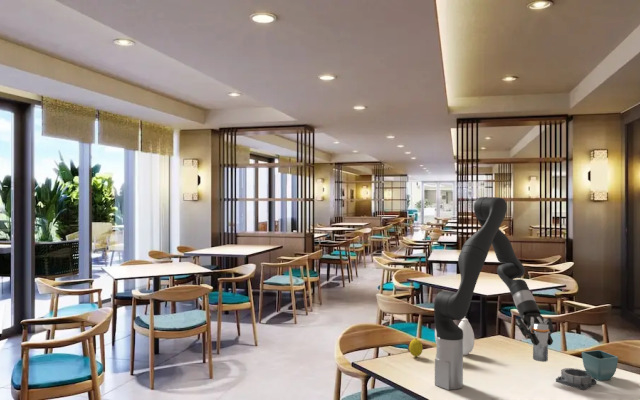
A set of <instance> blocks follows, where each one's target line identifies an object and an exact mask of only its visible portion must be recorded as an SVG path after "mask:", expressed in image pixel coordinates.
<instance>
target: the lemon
mask: <svg viewBox="0 0 640 400" xmlns="http://www.w3.org/2000/svg"><path fill="white" fill-rule="evenodd" d="M423 348H424V347H423V344H422V342H421V340H420V339H418V338H414V339H412V340H411V341H410V343H409V347H408V349H409V353H410V354H411V355H412V356H413V357H414V358H418V357H419V356H420V355H422V353H423Z"/></svg>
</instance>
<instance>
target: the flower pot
mask: <svg viewBox="0 0 640 400" xmlns="http://www.w3.org/2000/svg"><path fill="white" fill-rule="evenodd" d="M581 359H582V364H583V367H584V371H587V372H589V373H590V374H591V376H592V378H594V379H595V380H596V381H597V380H598V381H600V382H601V381H607V380H608V379H609V380H611V379H613V377H614V375H615V374H616V373H617V372H616V371H617V368H618V362H619V357H618V356H616V355H614V354H611V353H609V352H606V351H603V350H601V349H597V350H589V351H588V350H587V351H581Z"/></svg>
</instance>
